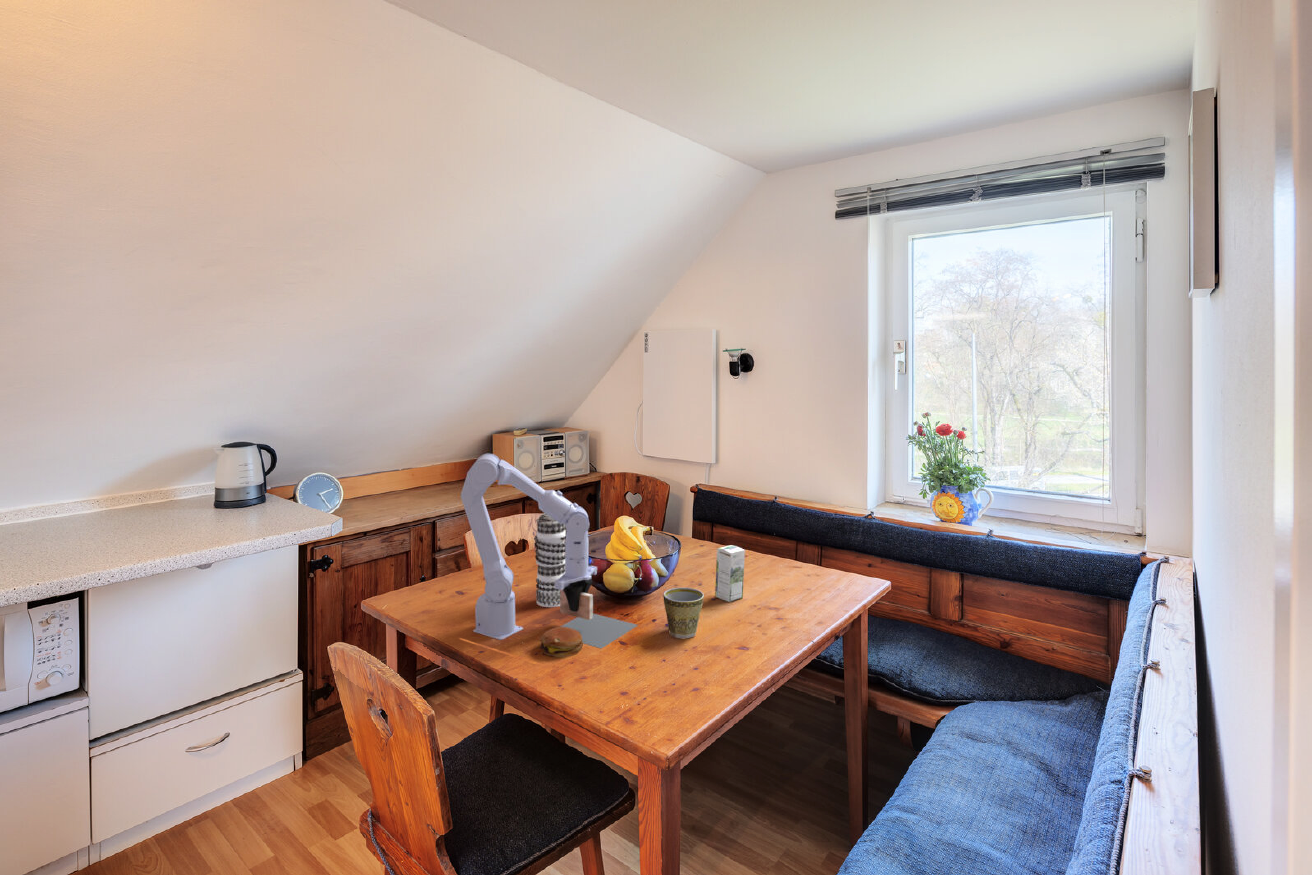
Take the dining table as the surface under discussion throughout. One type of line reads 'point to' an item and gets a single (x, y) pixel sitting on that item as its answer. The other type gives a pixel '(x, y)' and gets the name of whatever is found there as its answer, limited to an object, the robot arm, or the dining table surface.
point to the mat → (599, 629)
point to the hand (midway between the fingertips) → (576, 609)
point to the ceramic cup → (683, 611)
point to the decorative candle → (549, 559)
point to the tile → (584, 606)
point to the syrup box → (729, 573)
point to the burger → (561, 642)
